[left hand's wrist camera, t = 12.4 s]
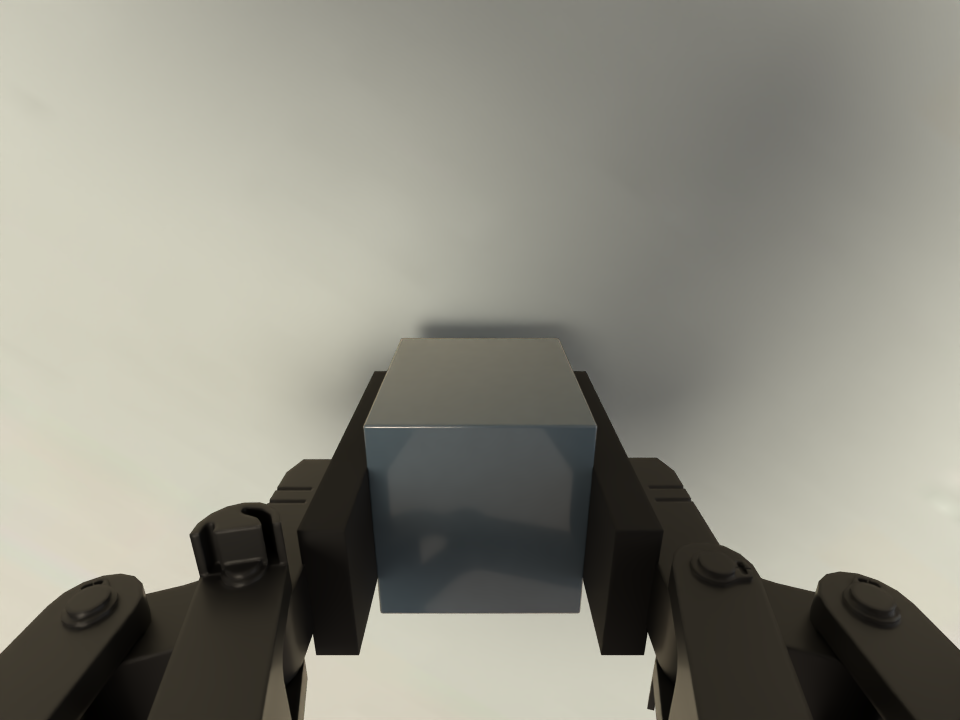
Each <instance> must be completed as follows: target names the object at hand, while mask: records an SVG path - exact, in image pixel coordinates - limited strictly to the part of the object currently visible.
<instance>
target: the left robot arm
mask: <svg viewBox="0 0 960 720" xmlns="http://www.w3.org/2000/svg"><path fill="white" fill-rule="evenodd" d="M573 372H574V374H575V377H576V379H577V381H578V384H579V386H580V388H581V390H582V393H583V395H584V397H585V400H586V402H587V404H588V406H589V409H590V411H591V413H592V416H593V418H594V420H595V423H596V425H597V435H596V445H595V456H594V466H593V473H592V484H591V495H590V505H589V516H588V527H587V538H586V549H585V559H584V570H583V581H584V586H585V590H586V594H587V598H588V602H589V606H590V610H591V614H592V619H593V623H594V627H595V631H596V635H597V639H598V643H599V647H600V651H601V655H644V652H645V646H646V639H647V633H648V634H649V637H650V640H651V642H652V645H653V648H654V651H655V654H656V659H655V665H654V671H653V676H652V682H651V688H650V694H649V700H648V707H647V709H650V710H654V708H656V719H657V720H960V650H959V649H958V648H957V647H956V646H955V645H954V644H953V643H952V642H951V641H950V640H949V639H948V638H947V637H946V636H945V635H944V634H943V633H942V632H941V631H940V630H939V629H938V628H937V627H936V626H935V625H934V624H933V623H932V622H931V621H930V620H929V619H928V618H927V617H926V616H925V615H924V614H923V613H922V612H921V611H920V610H919V609H918V608H917V607H916V606H915V605H914V604H913V603H912V602H911V601H909V600H908V599H907V598H906V597H904V596H903V595H902V594H901V593H899V592H898V591H897V590H895V589H893V588H891V587H889V586H887V585H886V584H884V583H882V582H880V581H878V580H875V579H872V578H869V577H866V576H863V575H860V574H856V573H848V572H835V573H830V574H826V575H825V576H824V577H823V578H822V579H821V580H820V581H819V582H818V586H817V589H816V592H812V591H808V590H803V589H799V588H795V587H791V586H786V585H782V584H778V583H775V582H771V581H768V580H765V579H762V578H760V576H759V574H758V572H757V571H756V569H755V568H754V566H753V565H752V564H751V563H750V562H749V561H748V560H746V559H745V558H744V557H743V556H742V555H740V554H739V553H737V552H735V551H733V550H731V549H729V548H727V547H725V546H722V545H719V543H718V541H717V540H716V538H715V537H714V535H713V533H712V532H711V530H710V528H709V527H708V525H707V524H706V522H705V520H704V519H703V517H702V515H701V514H700V512H699V511H698V509H697V507H696V506H695V504H694V502H691V498H690V496H689V494H688V493H687V491H686V489H683V485H682V483H681V481H680V480H679V478H678V476H677V475H676V473H675V472H674V470H672V469H671V468H670V467H668V466H667V465H666V464H664V463H663V462H662V461H660V460H659V459H658V458H628V457H627V455H626V453H625V451H624V448H623V446H622V444H621V442H620V440H619V438H618V436H617V434H616V432H615V430H614V428H613V426H612V424H611V422H610V420H609V418H608V416H607V414H606V412H605V410H604V408H603V406H602V404H601V402H600V400H599V397H598V395H597V393H596V391H595V389H594V387H593V385H592V383H591V381H590V379H589V377H588V375H587V373H586V371H573ZM386 373H387V371H375V372H374V374H373V376H372V378H371V380H370V382H369V384H368V386H367V388H366V390H365V392H364V394H363V396H362V398H361V400H360V402H359V404H358V406H357V408H356V410H355V412H354V415H353V417H352V419H351V421H350V423H349V425H348V427H347V429H346V431H345V433H344V435H343V437H342V439H341V441H340V443H339V445H338V447H337V449H336V451H335V453H334V455H333V457H332V459H304V460H302V461H301V462H300V463H298V464H297V465H296V466H294V467H293V468H292V469H290V470H289V471H288V472H287V473H286V474H285V476H284V478H283V479H282V481H281V482H280V484H279V486H278V487H277V490H276V491H275V492H274V494H273V495H272V497H271V499H270V503H268V504H263V503H260V502H258V503H241V504H236V505H232V506H228V507H225V508H223V509H221V510H218V511H216V512H214V513H212V514H210V515H209V516H207V517H206V518H205V519H203V520H202V521H201V522H199V523H198V524H197V525H196V527H195V528H194V529H193V531H192V532H191V533H190V539H191V543H192V547H193V551H194V555H195V559H196V563H197V567H198V571H199V574H200V579H199V581H196V582H193V583H190V584H186V585H183V586H179V587H174V588H170V589H166V590H162V591H157V592H153V593H149V594H145V591H144V588H143V584H142V583H141V582H140V581H139V580H138V579H137V578H136V577H135V576H130V575H125V574H114V575H106V576H101V577H98V578H95V579H92V580H89V581H86V582H83V583H81V584H80V585H78V586H76V587H74V588H72V589H70V590H68V591H67V592H65V593H63V594H62V595H61V596H60V597H58V598H57V599H56V600H55V601H53V602H52V603H51V604H50V605H48V606H47V607H46V608H45V609H44V610H43V611H42V612H41V613H40V614H39V615H38V616H37V617H36V618H35V619H34V620H33V621H32V622H31V623H30V624H29V625H28V626H27V627H26V628H25V629H24V631H23V632H22V633H21V634H20V635H19V636H18V637H17V638H16V639H15V640H14V641H13V642H12V643H11V644H10V645H9V646H8V647H7V648H6V649H5V650H4V651H3V652H2V653H1V654H0V720H304V710H305V699H306V688H307V671H306V665H305V659H304V658H305V655H306V652H307V649H308V646H309V643H310V640H311V638H312V635H313V637H314V643H315V650H316V655H359V653H360V649H361V645H362V641H363V636H364V632H365V628H366V624H367V620H368V616H369V612H370V608H371V603H372V599H373V595H374V591H375V587H376V583H377V579H378V577H377V566H376V556H375V545H374V534H373V523H372V512H371V501H370V490H369V480H368V469H367V461H366V450H365V439H364V428H363V426H364V424H365V422H366V419H367V417H368V415H369V412H370V410H371V408H372V405H373V403H374V401H375V398H376V396H377V394H378V391H379V389H380V387H381V384H382V382H383V380H384V378H385V375H386Z"/></svg>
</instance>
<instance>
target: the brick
mask: <svg viewBox="0 0 960 720" xmlns="http://www.w3.org/2000/svg"><path fill="white" fill-rule="evenodd" d="M363 428H364V439H365V450H366V461H367V469H368V480H369V490H370V501H371V512H372V523H373V534H374V545H375V556H376V566H377V577H378V579H377V580H378V591H379V602H380V611H381V613H579V612H580V606H581V596H582V585H583V570H584V559H585V549H586V538H587V527H588V516H589V505H590V495H591V484H592V473H593V466H594V456H595V445H596V435H597V425H596V423H595V420H594V418H593V416H592V413H591V411H590V409H589V406H588V404H587V402H586V400H585V397H584V395H583V393H582V390H581V388H580V386H579V384H578V381H577V379H576V377H575V374H574V372H573V370H572V368H571V365H570V363H569V361H568V358H567V356H566V354H565V351H564V349H563V347H562V345H561V342H560V340H559V339H558V338H402V339H401V340H400V343H399V345H398V347H397V350H396V352H395V354H394V357H393V359H392V361H391V364H390V366H389V368H388V371H387V373H386V375H385V378H384V380H383V382H382V384H381V387H380V389H379V391H378V394H377V396H376V398H375V401H374V403H373V405H372V408H371V410H370V412H369V415H368V417H367V419H366V422H365V424H364V426H363Z"/></svg>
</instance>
